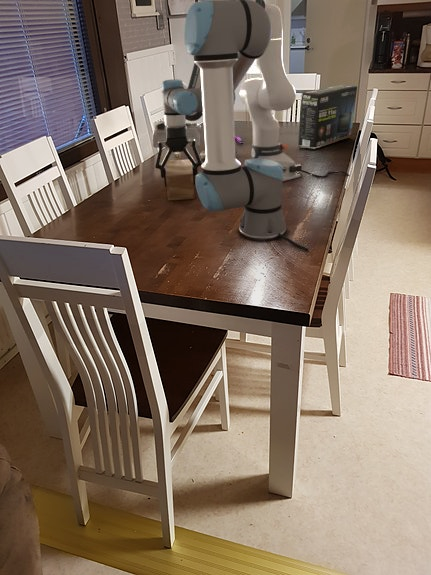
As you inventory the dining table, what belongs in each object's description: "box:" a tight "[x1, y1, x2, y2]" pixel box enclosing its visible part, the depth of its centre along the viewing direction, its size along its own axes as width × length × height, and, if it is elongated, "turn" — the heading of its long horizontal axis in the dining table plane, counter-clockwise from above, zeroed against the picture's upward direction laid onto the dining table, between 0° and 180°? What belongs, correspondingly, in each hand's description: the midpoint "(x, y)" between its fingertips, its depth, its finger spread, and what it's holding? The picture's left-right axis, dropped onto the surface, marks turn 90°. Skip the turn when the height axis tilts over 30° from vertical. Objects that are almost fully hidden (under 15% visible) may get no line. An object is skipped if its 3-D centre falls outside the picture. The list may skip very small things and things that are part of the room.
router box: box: [297, 84, 358, 151], centre depth 238 cm, size 36×11×27 cm, turn 134°
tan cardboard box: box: [165, 158, 196, 201], centre depth 185 cm, size 21×10×10 cm, turn 5°
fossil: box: [199, 147, 238, 161], centre depth 226 cm, size 18×11×15 cm
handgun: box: [235, 136, 244, 146], centre depth 255 cm, size 21×8×2 cm, turn 11°
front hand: (180, 184), depth 179 cm, fingers closed on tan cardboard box, 10 cm apart
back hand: (177, 157), depth 196 cm, fingers closed
